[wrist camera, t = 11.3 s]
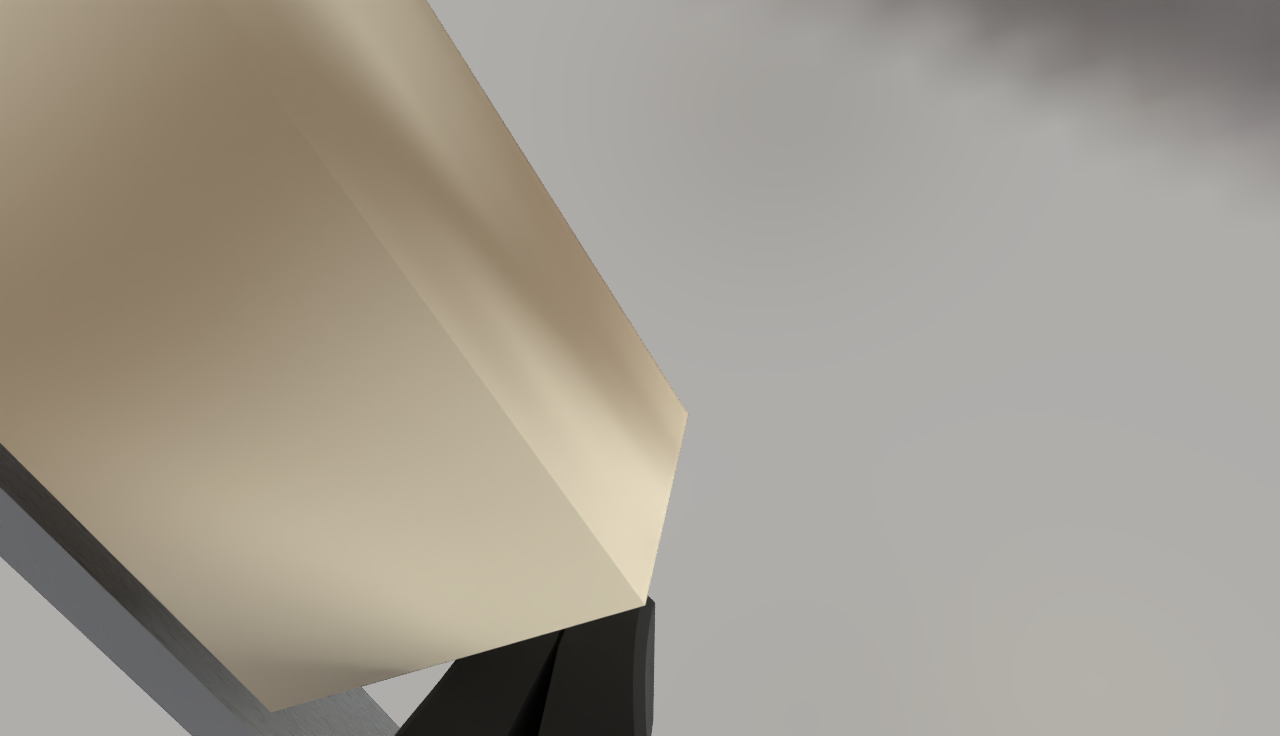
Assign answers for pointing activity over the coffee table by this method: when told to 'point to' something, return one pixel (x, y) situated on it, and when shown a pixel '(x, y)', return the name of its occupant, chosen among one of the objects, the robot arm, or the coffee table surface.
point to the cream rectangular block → (314, 338)
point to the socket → (150, 627)
